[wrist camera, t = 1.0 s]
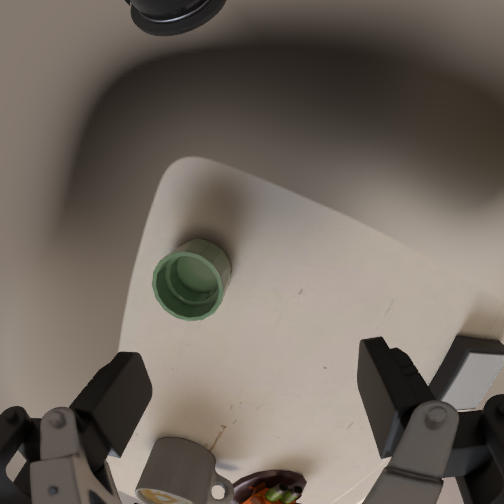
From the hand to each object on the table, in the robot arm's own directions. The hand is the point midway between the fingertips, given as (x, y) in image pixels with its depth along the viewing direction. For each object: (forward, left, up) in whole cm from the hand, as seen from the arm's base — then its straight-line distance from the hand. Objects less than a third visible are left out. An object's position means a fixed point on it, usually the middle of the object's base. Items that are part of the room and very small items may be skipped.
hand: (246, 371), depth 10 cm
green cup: (+3, -5, -18) cm, 19 cm away
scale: (+10, +30, -18) cm, 36 cm away
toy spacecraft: (+43, +11, -18) cm, 48 cm away
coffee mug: (+35, -2, -18) cm, 39 cm away
